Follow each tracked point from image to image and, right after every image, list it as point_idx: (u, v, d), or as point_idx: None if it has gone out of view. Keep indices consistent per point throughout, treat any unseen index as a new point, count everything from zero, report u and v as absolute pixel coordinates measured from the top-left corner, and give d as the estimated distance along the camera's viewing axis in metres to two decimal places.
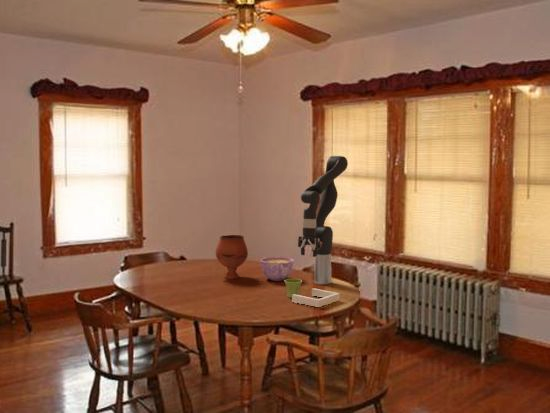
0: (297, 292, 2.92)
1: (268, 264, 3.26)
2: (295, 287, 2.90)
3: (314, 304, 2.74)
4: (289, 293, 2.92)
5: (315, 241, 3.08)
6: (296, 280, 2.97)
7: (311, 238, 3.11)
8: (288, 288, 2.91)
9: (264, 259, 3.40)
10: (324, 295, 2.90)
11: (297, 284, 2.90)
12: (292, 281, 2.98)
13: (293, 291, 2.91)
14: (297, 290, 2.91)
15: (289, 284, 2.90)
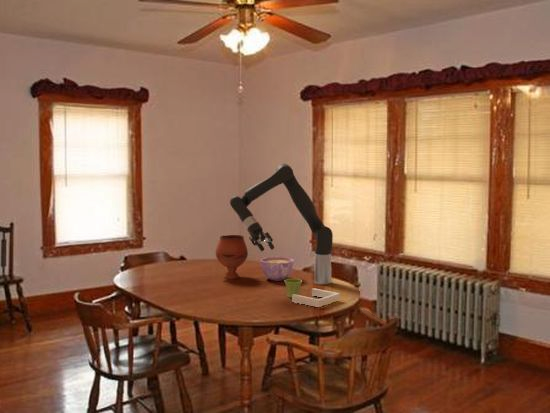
0: (297, 292, 2.92)
1: (268, 264, 3.26)
2: (295, 287, 2.90)
3: (314, 304, 2.74)
4: (289, 293, 2.92)
5: None
6: (296, 280, 2.97)
7: None
8: (288, 288, 2.91)
9: (264, 259, 3.40)
10: (324, 295, 2.90)
11: (297, 284, 2.90)
12: (292, 281, 2.98)
13: (293, 291, 2.91)
14: (297, 290, 2.91)
15: (289, 284, 2.90)
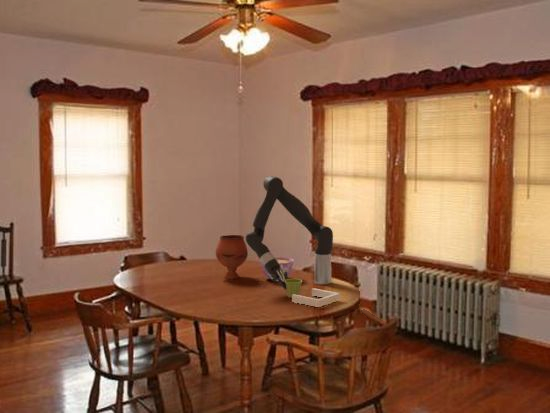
0: (297, 292, 2.91)
1: None
2: (295, 287, 2.90)
3: (314, 304, 2.74)
4: (289, 293, 2.92)
5: None
6: (296, 280, 2.97)
7: None
8: (288, 288, 2.91)
9: None
10: (324, 295, 2.90)
11: (297, 284, 2.90)
12: (292, 281, 2.98)
13: (293, 291, 2.91)
14: (297, 290, 2.91)
15: (289, 284, 2.90)
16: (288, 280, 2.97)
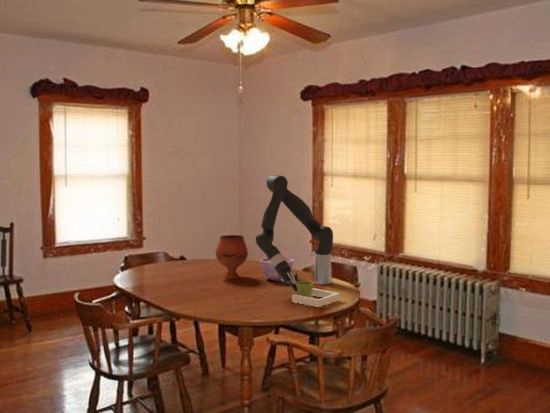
0: (309, 294, 2.87)
1: (268, 264, 3.26)
2: (307, 289, 2.85)
3: (314, 304, 2.74)
4: (301, 295, 2.87)
5: None
6: (307, 282, 2.93)
7: None
8: (300, 290, 2.86)
9: (264, 259, 3.40)
10: (324, 295, 2.90)
11: (309, 286, 2.85)
12: (303, 283, 2.93)
13: (305, 293, 2.86)
14: (309, 292, 2.87)
15: (301, 286, 2.85)
16: (298, 282, 2.92)
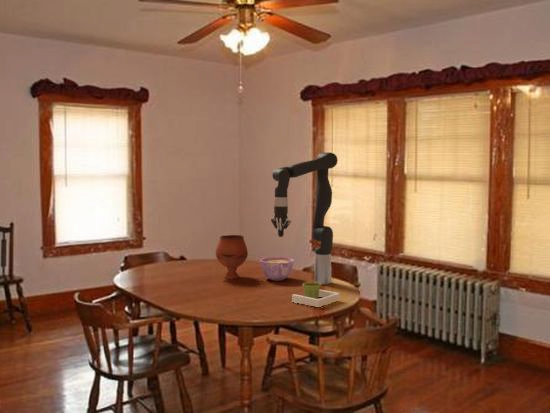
0: (316, 296, 2.84)
1: (268, 264, 3.26)
2: (314, 291, 2.82)
3: (314, 304, 2.74)
4: None
5: (285, 222, 3.06)
6: (314, 284, 2.89)
7: (283, 216, 3.06)
8: (307, 292, 2.83)
9: (264, 259, 3.40)
10: (324, 295, 2.90)
11: (316, 288, 2.82)
12: (310, 285, 2.90)
13: (312, 295, 2.83)
14: (316, 294, 2.83)
15: (308, 288, 2.82)
16: (306, 284, 2.89)
